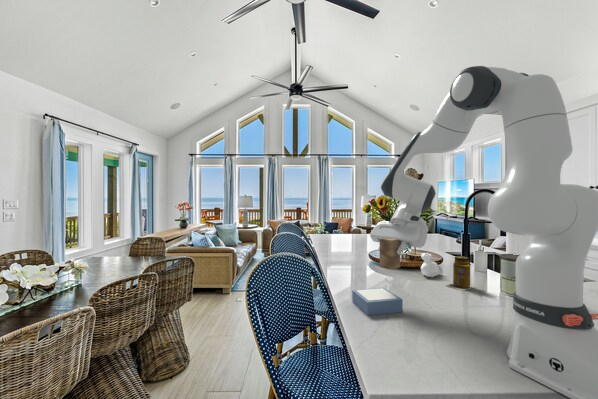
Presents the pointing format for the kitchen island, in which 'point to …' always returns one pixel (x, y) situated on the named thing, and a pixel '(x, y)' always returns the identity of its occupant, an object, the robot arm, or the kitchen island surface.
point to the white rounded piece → (429, 266)
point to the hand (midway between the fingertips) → (388, 252)
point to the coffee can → (508, 274)
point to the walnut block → (389, 253)
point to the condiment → (461, 273)
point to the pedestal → (377, 301)
